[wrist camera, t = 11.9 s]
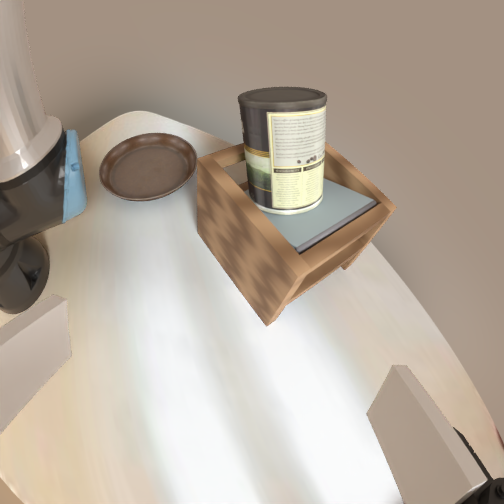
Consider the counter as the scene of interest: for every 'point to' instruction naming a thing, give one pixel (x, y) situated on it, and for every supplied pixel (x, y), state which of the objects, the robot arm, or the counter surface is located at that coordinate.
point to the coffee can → (284, 147)
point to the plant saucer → (148, 166)
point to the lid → (321, 216)
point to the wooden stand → (277, 233)
